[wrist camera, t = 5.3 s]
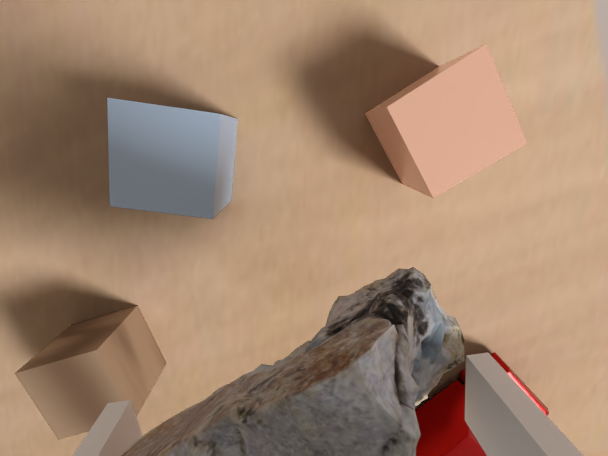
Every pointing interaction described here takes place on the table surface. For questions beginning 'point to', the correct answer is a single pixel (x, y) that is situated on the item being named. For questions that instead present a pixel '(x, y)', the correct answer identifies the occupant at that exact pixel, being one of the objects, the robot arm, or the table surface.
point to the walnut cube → (93, 370)
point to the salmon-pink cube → (448, 124)
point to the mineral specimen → (330, 384)
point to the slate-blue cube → (170, 158)
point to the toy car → (455, 420)
